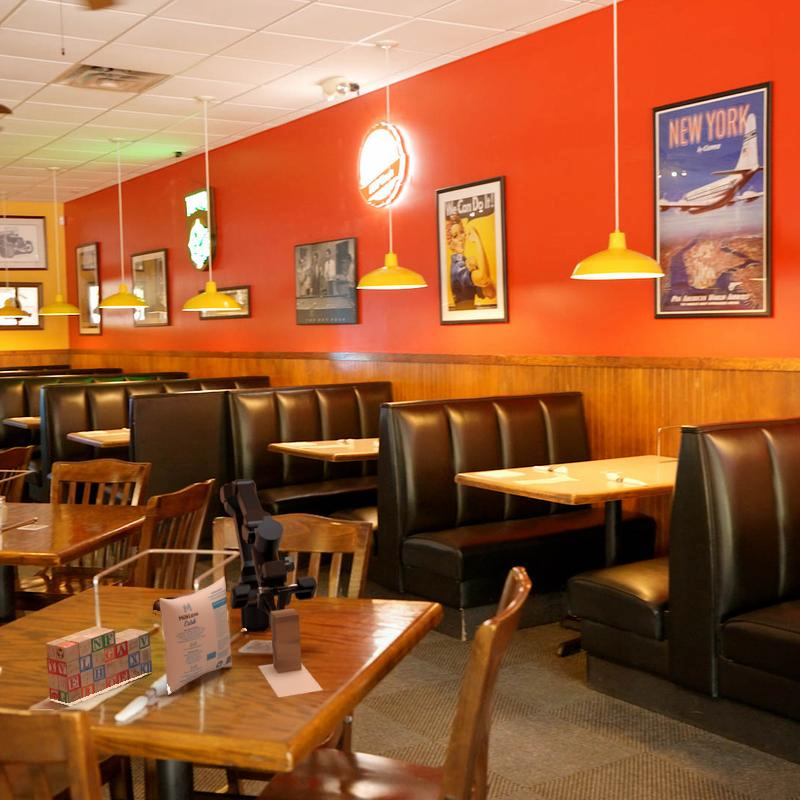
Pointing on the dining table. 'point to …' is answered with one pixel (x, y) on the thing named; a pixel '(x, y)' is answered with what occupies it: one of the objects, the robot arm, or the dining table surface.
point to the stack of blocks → (95, 661)
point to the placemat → (290, 681)
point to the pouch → (196, 634)
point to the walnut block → (286, 640)
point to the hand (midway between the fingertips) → (280, 626)
